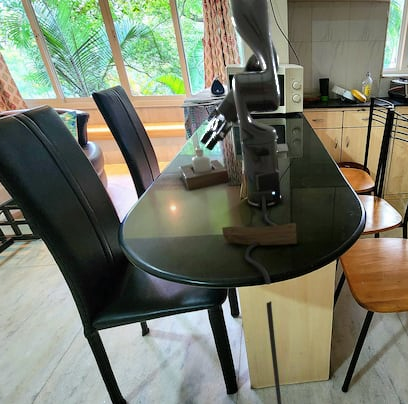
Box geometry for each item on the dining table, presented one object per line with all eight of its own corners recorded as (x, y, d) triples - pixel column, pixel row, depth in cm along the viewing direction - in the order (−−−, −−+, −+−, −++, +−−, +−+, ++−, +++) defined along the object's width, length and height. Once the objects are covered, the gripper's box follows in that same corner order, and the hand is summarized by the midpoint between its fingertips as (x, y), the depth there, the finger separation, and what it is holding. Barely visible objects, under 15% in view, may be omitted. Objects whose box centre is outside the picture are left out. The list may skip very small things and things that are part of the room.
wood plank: (296, 240, 62) (295, 220, 60) (296, 245, 61) (295, 225, 58) (227, 242, 63) (223, 223, 60) (225, 248, 61) (221, 228, 58)
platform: (288, 150, 123) (288, 135, 120) (247, 153, 122) (245, 138, 119) (286, 143, 134) (286, 129, 131) (248, 146, 132) (246, 132, 129)
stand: (229, 181, 94) (227, 170, 93) (188, 190, 89) (186, 178, 87) (218, 170, 105) (217, 159, 103) (182, 177, 99) (179, 166, 97)
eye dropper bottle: (198, 177, 99) (191, 143, 93) (214, 176, 99) (208, 142, 93) (195, 182, 95) (187, 147, 89) (211, 181, 95) (205, 146, 89)
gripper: (219, 95, 95) (190, 134, 96) (231, 99, 84) (199, 144, 85) (236, 110, 100) (209, 147, 100) (250, 116, 89) (220, 157, 89)
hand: (205, 145), depth 93 cm, fingers open, 8 cm apart
